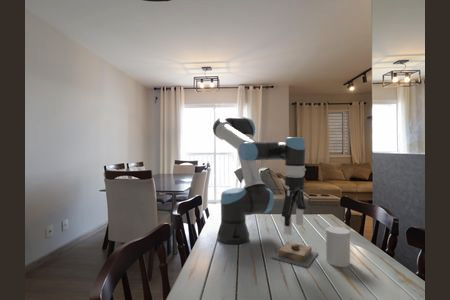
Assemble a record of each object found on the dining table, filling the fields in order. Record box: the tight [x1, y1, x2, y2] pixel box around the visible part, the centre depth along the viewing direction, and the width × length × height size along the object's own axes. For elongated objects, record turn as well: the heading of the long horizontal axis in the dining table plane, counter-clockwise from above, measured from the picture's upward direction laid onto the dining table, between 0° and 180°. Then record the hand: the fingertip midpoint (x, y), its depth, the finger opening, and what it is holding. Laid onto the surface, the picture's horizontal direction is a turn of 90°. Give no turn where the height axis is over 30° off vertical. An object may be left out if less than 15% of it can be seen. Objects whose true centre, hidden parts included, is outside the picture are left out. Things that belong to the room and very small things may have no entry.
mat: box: [271, 250, 319, 269], centre depth 101 cm, size 14×14×1 cm
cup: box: [325, 226, 351, 268], centre depth 96 cm, size 8×8×12 cm
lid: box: [277, 241, 313, 262], centre depth 101 cm, size 10×10×4 cm
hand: (294, 229), depth 101 cm, fingers open, 13 cm apart
